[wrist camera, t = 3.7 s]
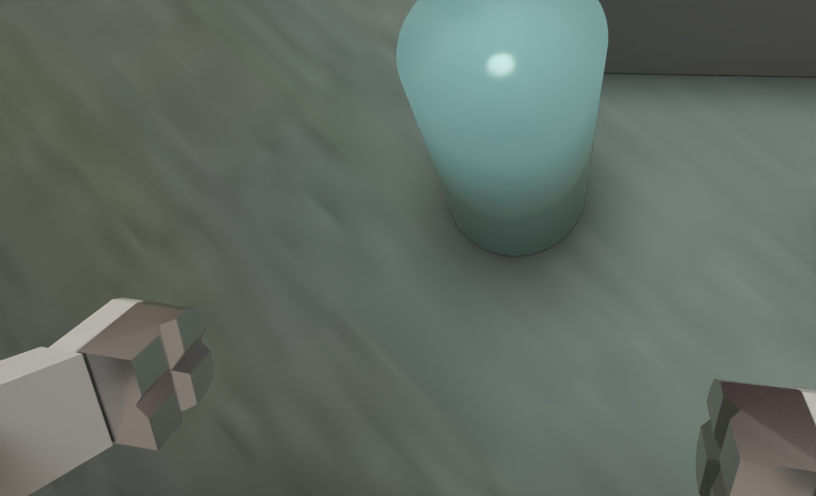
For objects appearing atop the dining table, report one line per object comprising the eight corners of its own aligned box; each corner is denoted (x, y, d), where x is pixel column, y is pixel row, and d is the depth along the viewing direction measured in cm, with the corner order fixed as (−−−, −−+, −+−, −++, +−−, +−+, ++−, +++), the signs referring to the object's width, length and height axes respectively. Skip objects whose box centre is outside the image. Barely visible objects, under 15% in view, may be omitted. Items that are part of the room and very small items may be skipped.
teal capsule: (440, 249, 23) (380, 130, 15) (459, 129, 24) (413, -41, 16) (579, 262, 22) (600, 140, 13) (590, 135, 23) (615, -47, 15)
